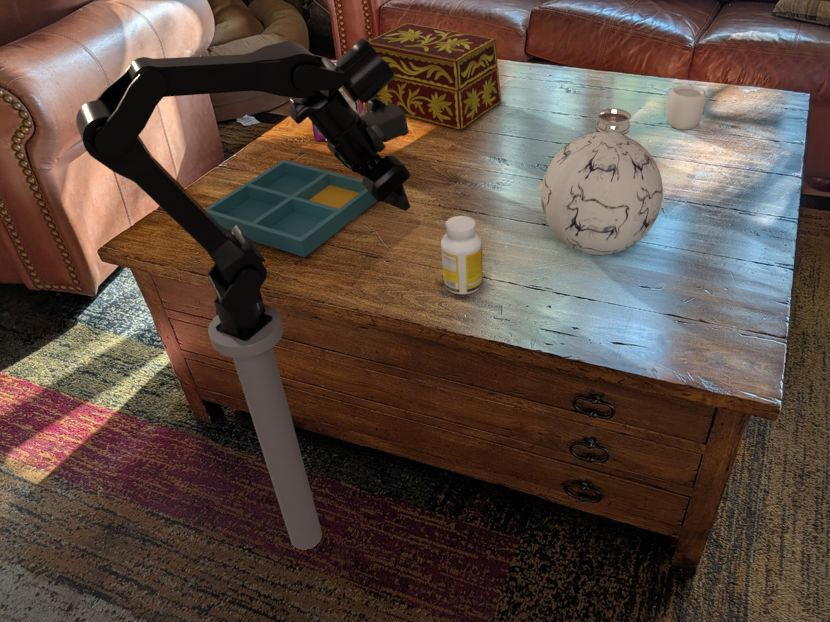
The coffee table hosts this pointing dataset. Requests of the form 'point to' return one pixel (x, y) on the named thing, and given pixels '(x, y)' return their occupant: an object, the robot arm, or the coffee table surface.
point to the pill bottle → (461, 256)
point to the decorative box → (439, 74)
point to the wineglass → (613, 121)
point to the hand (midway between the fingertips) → (395, 196)
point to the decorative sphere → (602, 193)
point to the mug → (685, 106)
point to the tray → (293, 206)
